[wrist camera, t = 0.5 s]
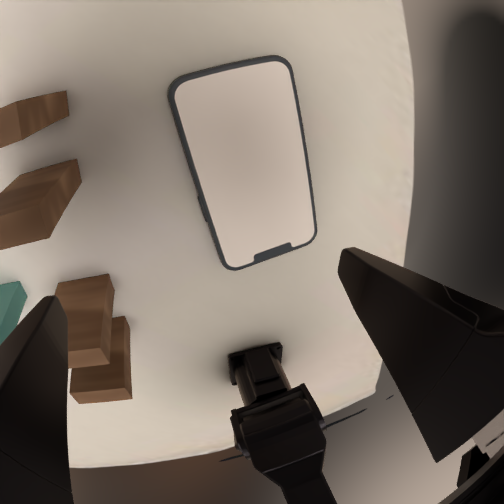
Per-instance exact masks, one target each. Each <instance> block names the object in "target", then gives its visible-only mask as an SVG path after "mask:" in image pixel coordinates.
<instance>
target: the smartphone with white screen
mask: <svg viewBox="0 0 504 504" xmlns="http://www.w3.org/2000/svg"><path fill="white" fill-rule="evenodd" d="M168 99H169V102H170V106H171V109H172V112H173V116H174V119H175V122H176V126H177V129H178V132H179V135H180V139H181V142H182V145H183V148H184V152H185V155H186V158H187V161H188V164H189V167H190V171H191V174H192V177H193V180H194V183H195V186H196V189H197V192H198V195H199V196H198V200H199V203H200V206H201V209H202V212H203V215H204V218H205V221H206V222H208V225H209V228H210V231H211V234H212V237H213V240H214V243H215V246H216V249H217V252H218V254H219V257H220V260H221V263H222V265H223V266H224V267H225V268H227V269H229V270H234V271H236V270H241V269H243V268H246V267H249V266H252V265H254V264H257V263H260V262H263V261H265V260H268V259H271V258H274V257H276V256H279V255H282V254H285V253H287V252H290V251H293V250H296V249H298V248H301V247H304V246H306V245H308V244H310V243H311V242H312V241H313V240H314V239H315V237H316V234H317V223H316V214H315V206H314V197H313V189H312V181H311V174H310V168H309V161H308V154H307V148H306V142H305V135H304V129H303V123H302V117H301V112H300V106H299V101H298V95H297V90H296V85H295V80H294V75H293V70H292V67H291V65H290V63H289V62H288V61H287V60H286V59H285V58H283V57H281V56H277V55H270V56H264V57H258V58H253V59H248V60H243V61H238V62H233V63H229V64H224V65H220V66H216V67H212V68H208V69H204V70H200V71H197V72H193V73H189V74H186V75H183V76H180V77H178V78H177V79H175V80H174V81H173V82H172V84H171V85H170V87H169V90H168Z"/></svg>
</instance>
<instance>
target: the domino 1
mask: <svg viewBox="0 0 504 504" xmlns="http://www.w3.org/2000/svg"><path fill="white" fill-rule="evenodd" d="M26 298H27V295H26V293H25V291H24V289H23V287H22V285H21V283H20V281H16V282H11V283H7V284H2V285H0V345H1V344H2V342H3V341H4V340H5V339H6V338H7V337H8V335H9V334H10V333H11V332H12V331H13V330H14V329H15V328H16V326H17V323H18V321H19V318H20V315H21V312H22V309H23V306H24V304H25V301H26Z"/></svg>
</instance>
